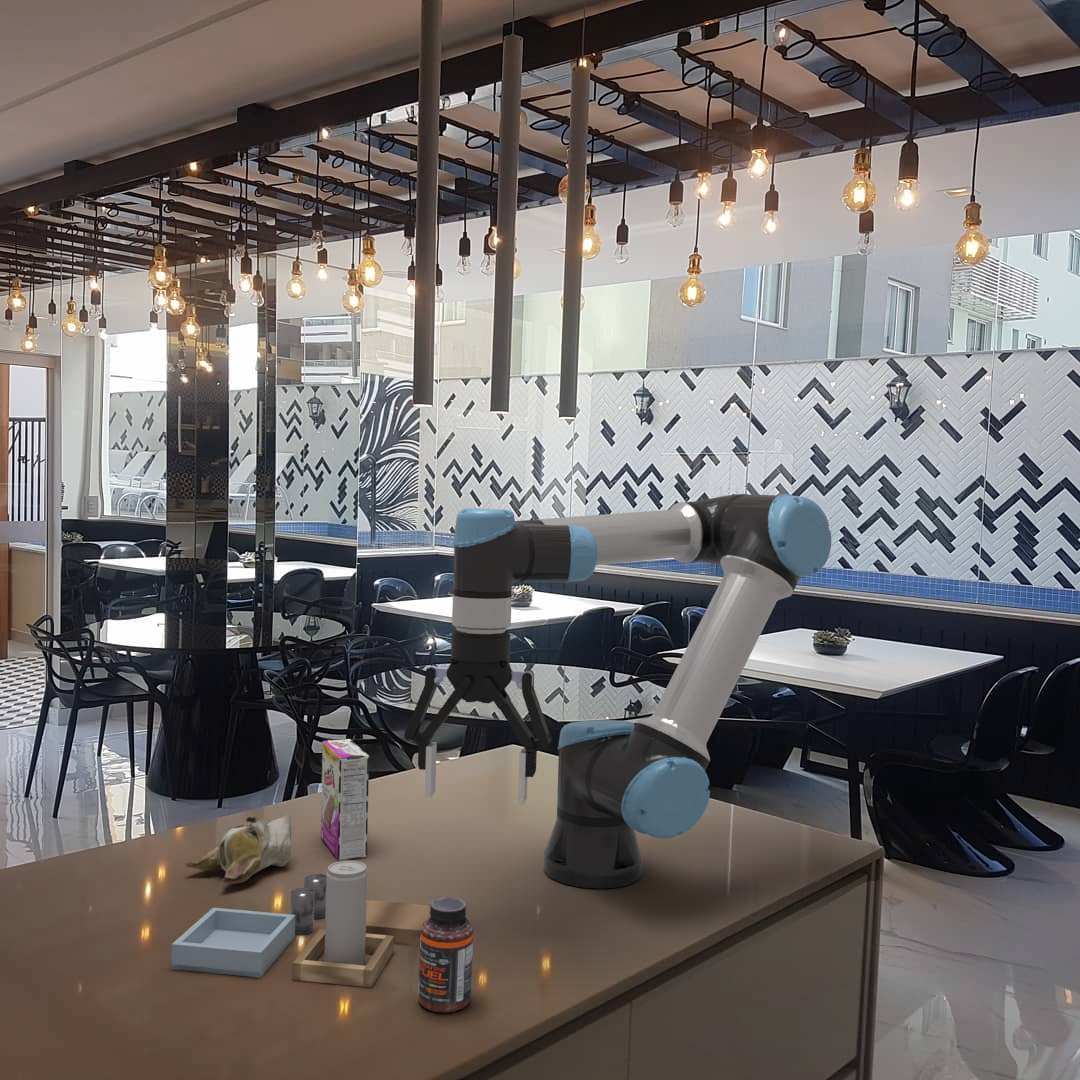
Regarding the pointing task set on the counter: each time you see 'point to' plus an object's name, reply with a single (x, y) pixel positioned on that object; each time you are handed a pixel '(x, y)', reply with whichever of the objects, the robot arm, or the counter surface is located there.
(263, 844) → the ceramic sculpture
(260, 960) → the tray
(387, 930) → the board
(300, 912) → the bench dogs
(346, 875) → the beverage can
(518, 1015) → the counter surface
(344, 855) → the candy bar box
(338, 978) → the collar
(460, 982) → the supplement bottle
